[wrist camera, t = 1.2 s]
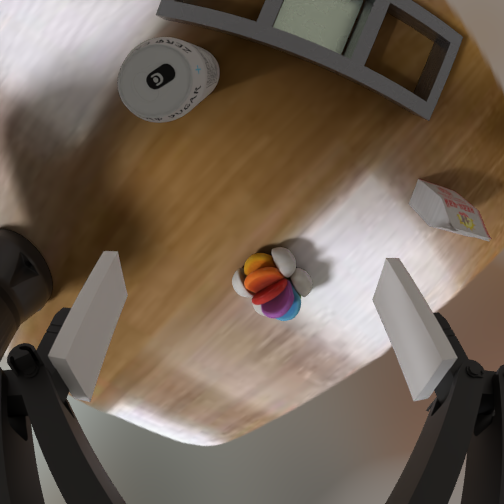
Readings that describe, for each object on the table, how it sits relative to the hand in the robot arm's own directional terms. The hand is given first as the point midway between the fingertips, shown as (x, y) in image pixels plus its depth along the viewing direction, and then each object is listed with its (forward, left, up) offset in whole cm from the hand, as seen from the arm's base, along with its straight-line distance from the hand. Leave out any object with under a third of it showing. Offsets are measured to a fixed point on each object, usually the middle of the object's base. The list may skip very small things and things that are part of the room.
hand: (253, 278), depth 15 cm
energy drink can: (-8, +6, -23) cm, 25 cm away
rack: (+2, +17, -22) cm, 28 cm away
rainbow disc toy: (+9, -15, -23) cm, 29 cm away
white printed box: (+25, +3, -23) cm, 34 cm away
